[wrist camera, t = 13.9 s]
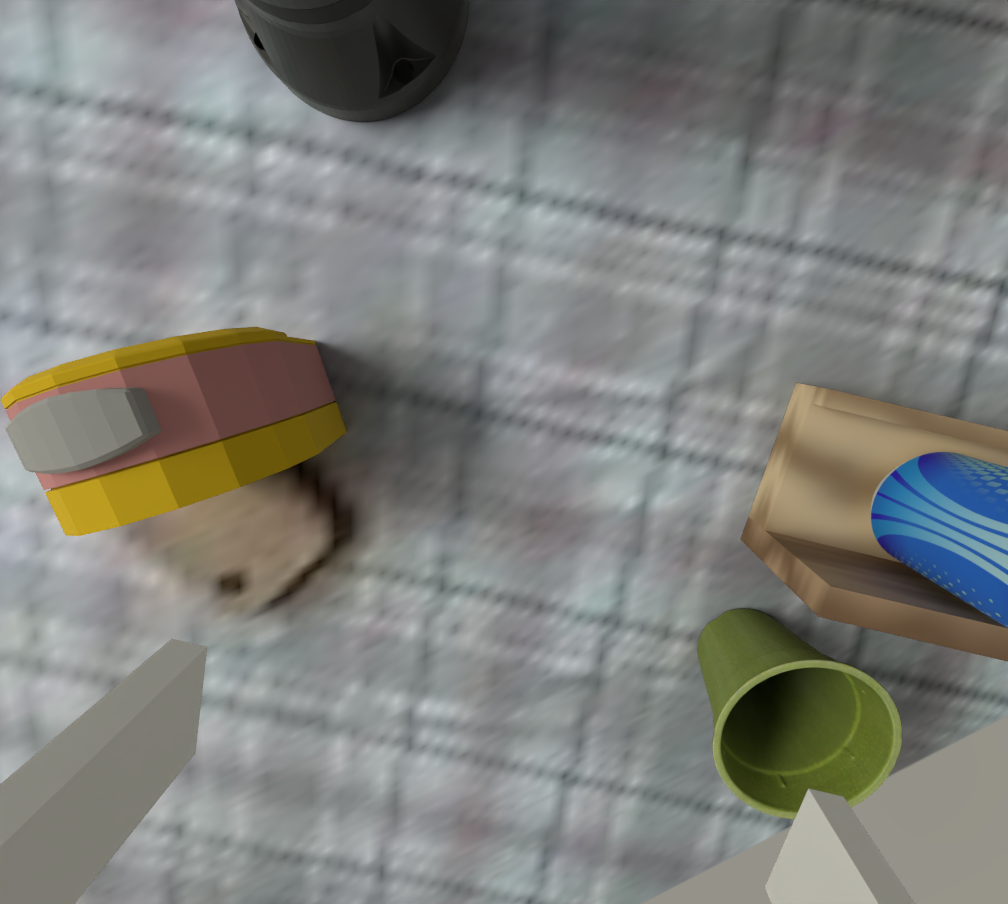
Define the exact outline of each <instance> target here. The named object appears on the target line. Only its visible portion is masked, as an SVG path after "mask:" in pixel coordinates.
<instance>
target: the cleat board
mask: <svg viewBox="0 0 1008 904" xmlns="http://www.w3.org/2000/svg"><path fill="white" fill-rule="evenodd" d="M933 452H952V453H958V454H962V455H966V456H969V457H973V458H976V459H980V460H983V461H987V462H990V463H994V464H998V465H1001V466H1005V467H1008V431H1004V430H1000V429H996V428H992V427H987V426H983V425H979V424H975V423H971V422H966V421H962V420H958V419H954V418H949V417H945V416H941V415H937V414H933V413H928V412H924V411H920V410H916V409H911V408H907V407H903V406H899V405H894V404H890V403H886V402H882V401H878V400H873V399H869V398H865V397H861V396H856V395H852V394H848V393H844V392H840V391H835V390H831V389H826V388H821V387H815V386H810V385H805V384H799V383H796V385H795V388H794V391H793V394H792V396H791V399H790V402H789V405H788V408H787V410H786V413H785V416H784V419H783V422H782V424H781V427H780V430H779V433H778V436H777V439H776V441H775V444H774V447H773V450H772V453H771V455H770V458H769V461H768V464H767V467H766V469H765V472H764V475H763V478H762V481H761V483H760V486H759V489H758V492H757V495H756V497H755V500H754V503H753V506H752V509H751V511H750V514H749V517H748V520H747V523H746V525H745V528H744V531H743V534H742V537H741V540H742V541H743V542H744V543H745V544H746V545H747V546H748V547H749V548H750V549H751V550H752V551H753V552H754V553H755V554H756V555H757V556H758V557H759V558H760V559H761V560H762V561H763V562H764V563H765V564H766V565H767V566H768V567H769V568H770V569H771V570H772V571H773V572H774V573H775V574H776V575H777V576H778V577H779V578H780V579H781V580H782V581H783V582H784V583H785V584H786V585H787V586H788V587H789V588H790V589H791V590H792V591H793V592H794V593H795V594H796V595H797V596H798V597H799V598H800V599H801V600H802V601H803V602H804V603H805V604H806V605H807V606H808V607H809V608H810V609H811V610H812V611H813V612H814V613H815V614H816V615H817V616H818V617H822V618H826V619H831V620H835V621H839V622H843V623H848V624H852V625H856V626H860V627H864V628H869V629H873V630H877V631H881V632H886V633H890V634H894V635H898V636H902V637H907V638H911V639H915V640H919V641H924V642H928V643H932V644H936V645H941V646H945V647H949V648H953V649H957V650H962V651H966V652H970V653H974V654H979V655H983V656H987V657H991V658H995V659H1000V660H1004V661H1008V628H1007V627H1005V626H1003V625H1002V624H1000V623H999V622H997V621H995V620H994V619H992V618H991V617H989V616H987V615H986V614H984V613H982V612H981V611H979V610H978V609H976V608H974V607H973V606H971V605H970V604H968V603H966V602H965V601H963V600H961V599H960V598H958V597H957V596H955V595H953V594H952V593H950V592H949V591H947V590H945V589H944V588H942V587H940V586H939V585H937V584H936V583H934V582H932V581H931V580H929V579H928V578H926V577H924V576H923V575H921V574H919V573H918V572H916V571H915V570H913V569H911V568H910V567H908V566H907V565H905V564H903V563H902V562H900V561H898V560H897V559H895V558H894V557H892V556H891V555H889V554H888V553H887V552H886V551H885V550H884V549H883V548H882V547H881V546H880V545H879V543H878V542H877V540H876V538H875V536H874V534H873V531H872V527H871V516H870V515H871V510H870V509H871V501H872V497H873V494H874V492H875V490H876V488H877V486H878V485H879V483H880V482H881V481H882V479H883V478H884V477H885V476H886V475H887V474H888V473H889V472H891V471H892V470H893V469H895V468H896V467H898V466H900V465H901V464H903V463H905V462H906V461H908V460H910V459H912V458H915V457H917V456H920V455H923V454H928V453H933Z"/></svg>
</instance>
